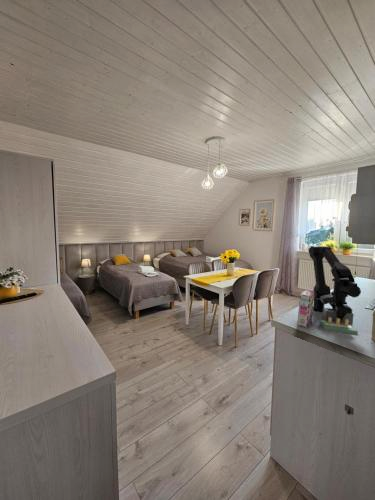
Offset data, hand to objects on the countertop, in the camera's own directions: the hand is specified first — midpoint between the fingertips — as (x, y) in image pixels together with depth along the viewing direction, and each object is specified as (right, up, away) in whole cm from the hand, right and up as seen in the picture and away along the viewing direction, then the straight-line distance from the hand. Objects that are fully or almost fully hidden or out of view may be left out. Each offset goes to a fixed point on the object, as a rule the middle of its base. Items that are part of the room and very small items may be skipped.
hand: (337, 319), depth 118 cm
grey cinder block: (0, -1, 0) cm, 1 cm away
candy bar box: (-19, -1, -3) cm, 19 cm away
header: (-5, -2, -8) cm, 9 cm away
